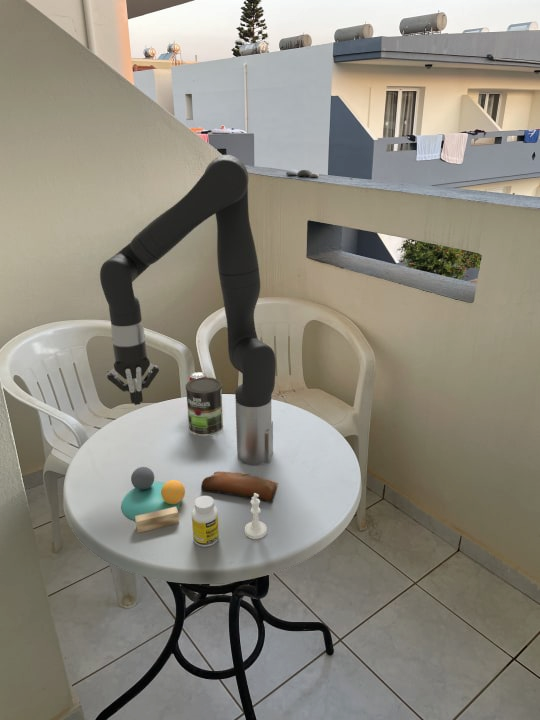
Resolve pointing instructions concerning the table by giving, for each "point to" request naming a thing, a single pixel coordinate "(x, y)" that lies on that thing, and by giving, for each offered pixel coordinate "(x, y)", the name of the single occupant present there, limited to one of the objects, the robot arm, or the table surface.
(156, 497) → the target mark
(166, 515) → the strip
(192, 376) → the beverage can
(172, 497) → the object ball
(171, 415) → the table surface
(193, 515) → the supplement bottle
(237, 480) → the sunglasses case
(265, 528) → the chess piece
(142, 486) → the gray ball
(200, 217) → the robot arm
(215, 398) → the coffee can
